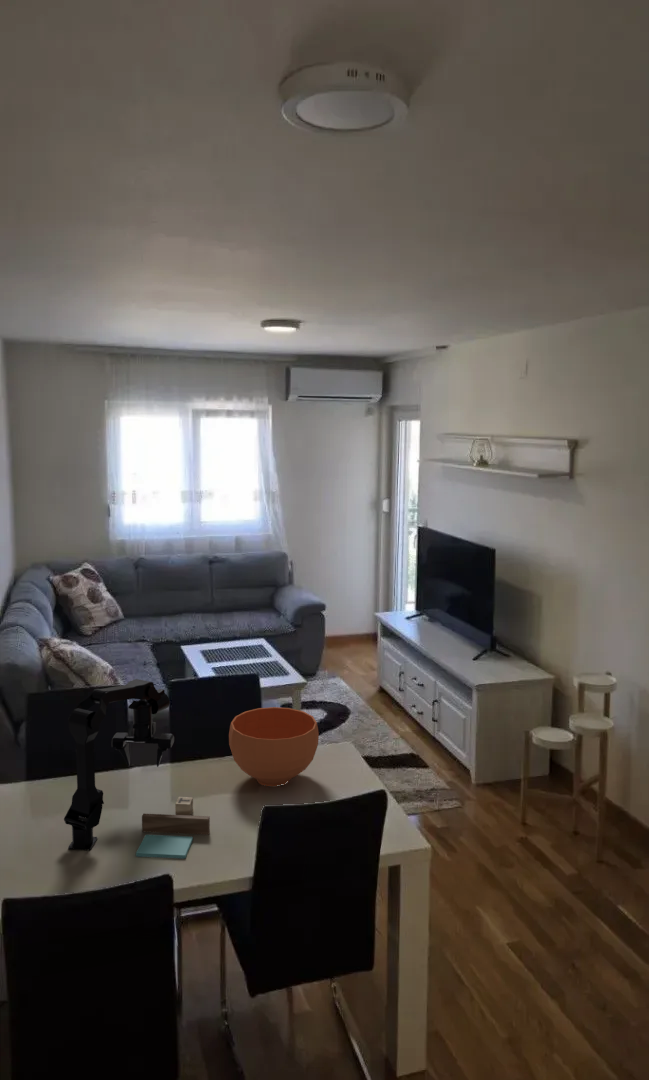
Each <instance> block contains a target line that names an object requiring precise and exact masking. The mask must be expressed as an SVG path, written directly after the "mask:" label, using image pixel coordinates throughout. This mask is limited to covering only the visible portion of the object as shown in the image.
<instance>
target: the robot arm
mask: <svg viewBox="0 0 649 1080" xmlns="http://www.w3.org/2000/svg"><path fill="white" fill-rule="evenodd" d="M132 699H133V700H132ZM127 700H132V701H131V703H130V704H128V707H127V708H128V709H129V710H132V715H133V716H132V717H133V719H132V720H133V722H132V723H133V724H132V729H133V736H129V732H116V733H115V734H114V735H113V737H112V738H111V741H110V743H111V744H110V745H111V748H115V750H116V751H119V753H120V754H121V756H122V757H123V759H124V762H125V763H126V765H127V767H130V766H131V756H130V744H157V746H158V747H157V749H156V767H157V768H159V766H160V763H161V760H162V757H163V753H164V752H166V751H168V750H169V749H171V748H172V747H173V745H174V742H175V736H174V734H173V733H160V736H154V735H155V733H156V729H157V728H156V727H157V722H155V721H153V715H156V714H159V713H160V712H163V711H164V710H167V709H168V708H170V705H171V700H170V698H169V696H168V695H167V693H166V691H165V689H162V688H158V689H156V687H155V684H154V682H153V681H148V680H144V679H140V678H139V679H138V678H135V679H133V680H132V679H131V680H129V681H128V682H127V683H126V684H124V685H117V686H111V687H105V688H95V689H93V690H92V691H91V692H90V693H89V695H88V696H87V697H85V698H84V699H82V700H81V701H79V702H78V703H77V704H76V706H75V707H74V708H73V710H72V711H71V713H70V714H69V715H68V721H67V722H68V728H69V732H70V735H71V736H72V737H73V739H74V741H75V755H76V756H75V759H76V760H75V761H76V790H75V792H74V793H73V795H72V796H71V804H70V806H69V808H68V810H67V813H66V814H65V816H64V818H63V821H64V823H65V825H68V826H69V825H70V826H71V836H72V837H71V838H72V840H71V842H70V844H69V845H68V847H67V848H68V850H76V851H79V850H81V851H91V850H92V848H93V846H94V845H95V844H96V842H97V840H98V837H97V836H94V828H95V827H97V826H98V825H100V822H101V821H100V820H101V816H102V812H103V805H104V804H105V802H104V791H103V790H101V789H99V788H97V786H96V771H95V770H96V769H95V768H96V767H95V766H96V765H95V763H96V762H95V739H96V737H97V735H98V733H99V732H100V724H101V723H102V722H103V720H104V719H105V717H106V715H107V706H108V705H109V704H111V703H114V702H120V701H127ZM96 704H98V708H97V710H96V711H93V710H92V711H91V710H89V709H90V708H91V707H93V706H94V705H96Z"/></svg>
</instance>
